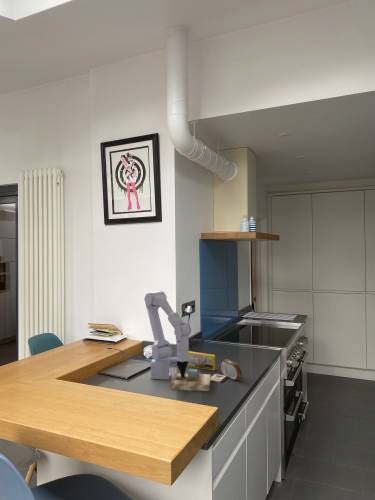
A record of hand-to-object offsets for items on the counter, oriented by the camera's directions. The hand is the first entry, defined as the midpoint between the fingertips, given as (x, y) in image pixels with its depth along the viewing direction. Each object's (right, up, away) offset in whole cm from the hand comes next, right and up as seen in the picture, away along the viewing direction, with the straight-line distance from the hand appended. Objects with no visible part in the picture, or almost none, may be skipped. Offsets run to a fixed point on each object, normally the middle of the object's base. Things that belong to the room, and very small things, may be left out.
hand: (182, 376), depth 181 cm
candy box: (+10, -4, +25) cm, 27 cm away
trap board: (+4, -4, 0) cm, 6 cm away
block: (+5, -1, -1) cm, 5 cm away
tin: (+24, -4, +9) cm, 26 cm away
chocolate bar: (+20, -4, +12) cm, 23 cm away
